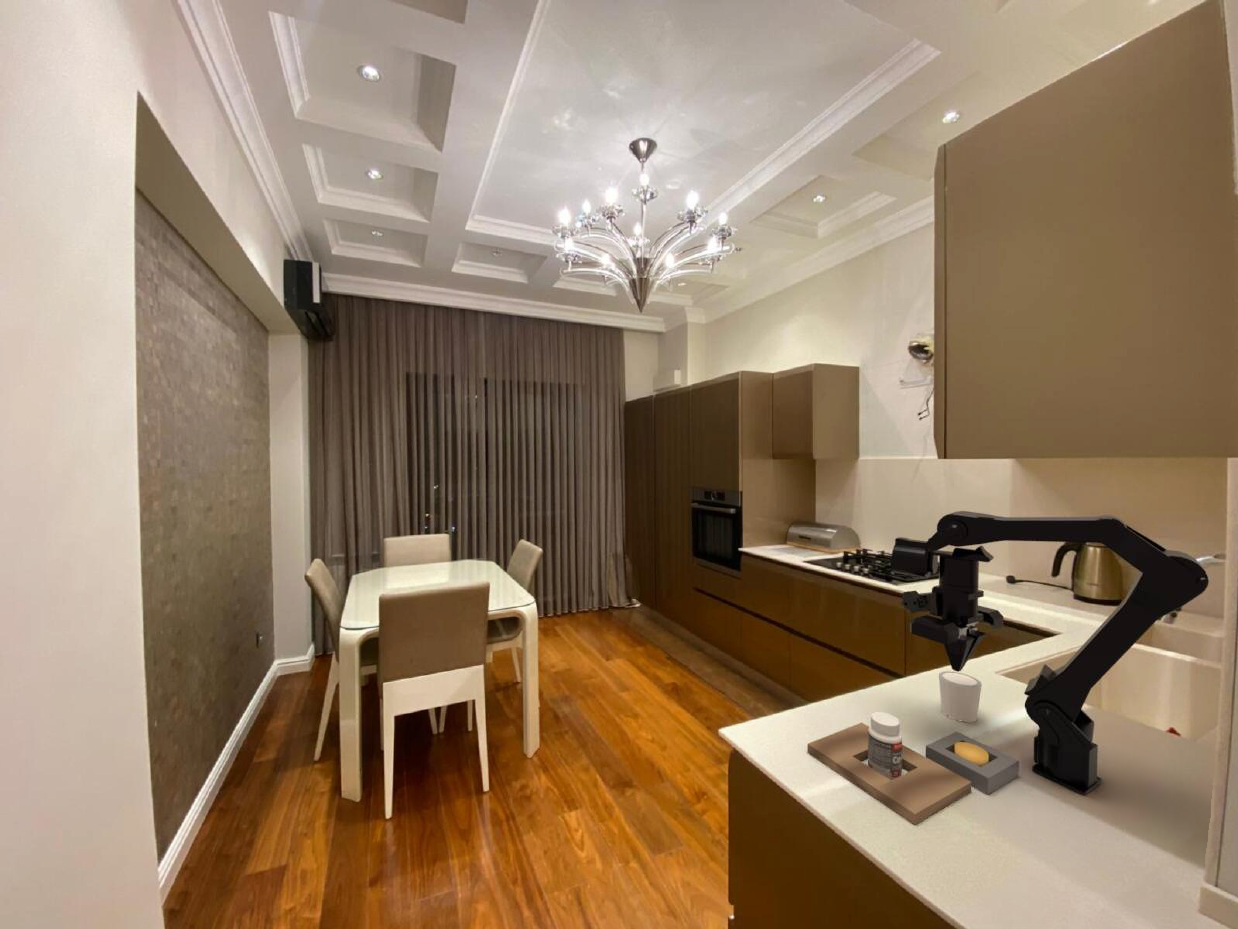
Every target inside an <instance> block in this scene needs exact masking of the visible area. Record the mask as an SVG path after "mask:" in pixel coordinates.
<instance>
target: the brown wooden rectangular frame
mask: <svg viewBox="0 0 1238 929" xmlns="http://www.w3.org/2000/svg"><path fill="white" fill-rule="evenodd" d="M869 727H870V725H867V724H865V723H863V722H859V723H857V724H854V725H852V726H849V727H847V728H844V729H841V730H840V731H836V732H834V733H832V734H829V735H826V736H824V737H821V738H819V739H816V740H813V741H811V742H809V743H807V751H806V752H807V753H808V754H809V755H810V756H811V757H813V758H815V759H816V760H818V761H819V762H821V763H822V764H824V765H825V766H827V767H828V768H829V769H831V770H833V771H834V772H835V773H837V774H839V775H840V776H842V777H843V778H844V779H846V780H847V781H849V782H850V783H851V784H854V785H855V786H856V787H858V788H859V789H861V790H862V791H864V792H865V793H867V794H868V795H870V796H871V797H873V798H874V799H876V800H877V801H879V802H880V803H882V804H883V805H885V806H886V807H888V808H889V809H890V810H892V811H893V812H894V813H897V815H899V816H901V817H902V818H904V819H905V820H907V821H908V822H909V823H911V824H912V825H914V826H915V825H918V824H919V823H921V822H922V821H925V820H926V819H927V818H929V817H931V816H933V815H935V814H937V812H940V811H941V810H943V809H944V808H946V807H948V806H950V805H951V804H954V803H955V802H957V801H959V800H960V799H962V798H964V797H965V796H966V795H969V794H970V793H971V792H972V786H971V781H969V780H967V779H965V778H963V777H961V776H960V775H958V774H956V773H954V772H952V771H950V770H948V769H947V768H945V767H943V766H941V765H939V764H937V763H936V762H934V761H932V760H930V759H928V758H926V756H924V755H923V754H921V753H919V752H916V751H915V750H913V749H912V748H909V747H908V746H905V745H904V744H902V769H903V770H905V771H907V772H906V773H904V774H902V775H901V776H900V777H898V778H896V779H894V780H890V779H888V778H887V777H885V776H883V775H882V774H880V773H879V772H877V771H875V770H874V769H872V768H871V767H869V766H868V764H866V763H864V762H863V761H865V760H868V729H869Z"/></svg>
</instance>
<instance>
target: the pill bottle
mask: <svg viewBox="0 0 1238 929" xmlns="http://www.w3.org/2000/svg"><path fill="white" fill-rule="evenodd" d="M900 726H901V725H900V720H899V719H898V718H897V717H895V716H894V715H892V714H890V713H886V712H882V711H878V712H877V711H876V712H873V713H871V715H870V725H869V729H868V758H867V766H869V767H871V768H872V769H874V770H875V771H877V772H879V773H880V774H882V775H883V776H885V777H887V778H888V779H890V780H894V779H896V778H898V777H900V776H902V775H903V771H902V769H903V768H902V745H903V735H902V733H901V732H900V730H901V728H900Z"/></svg>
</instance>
